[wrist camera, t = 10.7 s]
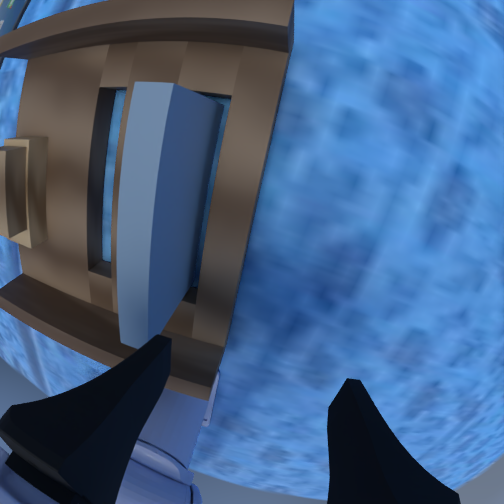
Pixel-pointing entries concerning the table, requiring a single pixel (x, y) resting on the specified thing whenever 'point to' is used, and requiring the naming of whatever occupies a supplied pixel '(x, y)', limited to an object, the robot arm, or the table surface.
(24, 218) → the offcut top
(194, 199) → the sheet
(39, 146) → the block
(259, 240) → the table surface
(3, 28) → the tablet
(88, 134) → the rack
